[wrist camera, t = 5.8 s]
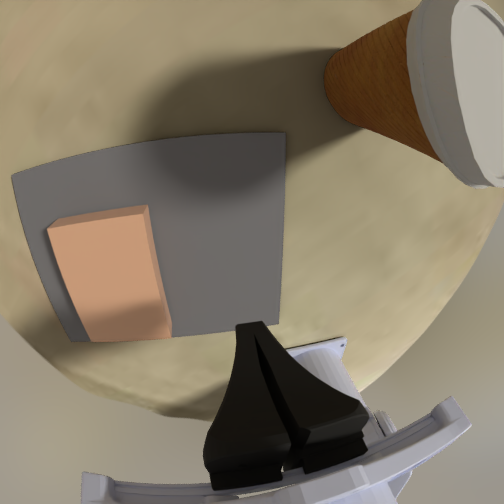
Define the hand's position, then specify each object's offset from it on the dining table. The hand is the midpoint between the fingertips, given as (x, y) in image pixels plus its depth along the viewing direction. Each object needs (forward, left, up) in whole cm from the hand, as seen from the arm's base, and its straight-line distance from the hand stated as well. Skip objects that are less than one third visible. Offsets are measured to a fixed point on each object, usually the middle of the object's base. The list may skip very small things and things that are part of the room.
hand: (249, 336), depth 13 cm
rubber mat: (+1, +6, -8) cm, 10 cm away
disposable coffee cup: (+13, -10, -8) cm, 18 cm away
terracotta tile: (0, +5, -6) cm, 8 cm away
